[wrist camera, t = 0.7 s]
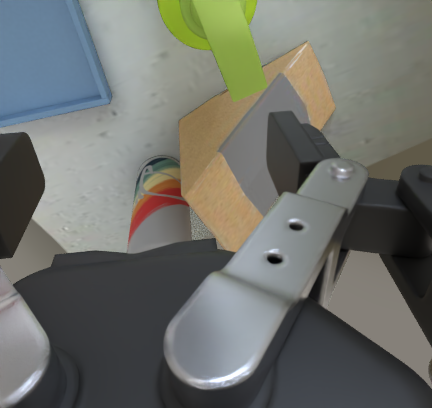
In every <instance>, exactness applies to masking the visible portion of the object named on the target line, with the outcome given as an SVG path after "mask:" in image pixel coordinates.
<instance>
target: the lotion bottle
mask: <svg viewBox="0 0 432 408" xmlns="http://www.w3.org/2000/svg"><path fill="white" fill-rule="evenodd" d="M183 241H192V233H191V221H190V208H189V204H188V203H187V202H186V201H185V199H184V198H183V197H182V195H181V175H180V163H179V162H178V161H177V160H175V159H173V158H171V157H167V156H156V157H153V158H150V159H148V160H147V161H146V162H144V163H143V165H142V166H141V167H140V169H139V172H138V176H137V181H136V189H135V196H134V203H133V211H132V218H131V225H130V233H129V240H128V247H127V253H133V254H134V253H140V252H144V251H147V250H151V249H154V248H158V247H161V246H165V245H168V244H172V243H176V242H183Z"/></svg>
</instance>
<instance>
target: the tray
mask: <svg viewBox="0 0 432 408" xmlns="http://www.w3.org/2000/svg"><path fill="white" fill-rule="evenodd" d="M111 99H112V94H111V92H110V89H109V86H108V83H107V80H106V78H105V75H104V72H103V69H102V66H101V64H100V61H99V58H98V55H97V52H96V49H95V47H94V44H93V41H92V38H91V35H90V33H89V30H88V27H87V24H86V21H85V19H84V16H83V13H82V10H81V7H80V5H79V2H78V0H0V127H5V126H10V125H14V124H19V123H23V122H28V121H33V120H37V119H42V118H46V117H51V116H56V115H60V114H65V113H69V112H74V111H78V110H83V109H88V108H92V107H97V106H101V105H106V104H110V102H111Z"/></svg>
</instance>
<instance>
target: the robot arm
mask: <svg viewBox="0 0 432 408" xmlns="http://www.w3.org/2000/svg"><path fill="white" fill-rule="evenodd" d="M266 161H267V168H268V171H269V174H270V176H271V178H272V181H273V183H274V185H275V188H276V190H277V193H278V195H279V198H278V200H277V201H276V202H275V204H274V205H273V206H272V207H271V209H270V210H269V211H268V212H267V214H266V215H265V216H264V218H263V219H262V220H261V221H260V223H259V224H258V225H257V226H256V228H255V229H254V230H253V232H252V233H251V234H250V235H249V237H248V238H247V239H246V240H245V242H244V243H243V244H242V246H241V247H240V248H239V249H238V251H237V252H233V251H227V250H220V249H217V244H216V238H212V239H202V240H193V241H183V242H176V243H172V244H168V245H165V246H161V247H158V248H154V249H151V250H147V251H144V252H140V253H134V254H133V253H119V252H107V251H86V252H76V253H66V254H57V255H55V257H54V259H53V262H52V265H51V267H49V268H46V269H43V270H40V271H38V272H35V273H33V274H31V275H29V276H27V277H25V278H23V279H21V280H19V281H18V282H16V283H15V284H13V285H12V283H11V282H10V280H9V279H8V277H7V276H6V274H5V273H4V271H3V270H2V268H1V266H0V408H432V389H431V388H430V386H429V385H428V384H427V383H426V382H425V381H424V380H423V379H422V378H421V377H420V376H419V375H418V374H417V373H416V372H415V371H413V370H412V369H411V368H409V367H408V366H407V365H406V364H404V363H403V362H402V361H400V360H399V359H397V358H396V357H394V356H393V355H392V354H390V353H389V352H387V351H386V350H384V349H383V348H382V347H380V346H379V345H377V344H376V343H374V342H373V341H371V340H370V339H368V338H367V337H366V336H364V335H363V334H361V333H360V332H358V331H357V330H356V329H354V328H353V327H351V326H350V325H348V324H347V323H346V322H344V321H343V320H341V319H340V318H338V317H337V316H336V315H334V314H332V313H331V312H330V311H328V310H327V308H328V305H329V301H330V298H331V296H332V293H333V291H334V288H335V286H336V284H337V282H338V280H339V277H340V275H341V273H342V271H343V268H344V266H345V264H346V262H347V259H348V257H349V255H350V252H351V250H355V251H364V252H371V253H379V255H380V257H381V259H382V261H383V262H384V264H385V266H386V267H387V270H388V271H389V273H390V275H391V277H392V278H393V280H394V282H395V284H396V285H397V287H398V289H399V291H400V292H401V294H402V296H403V298H404V299H405V301H406V303H407V305H408V306H409V308H410V310H411V312H412V313H413V315H414V317H415V319H416V320H417V322H418V324H419V326H420V327H421V329H422V331H423V333H424V334H425V336H426V338H427V340H428V341H429V343H430V345H431V347H432V166H430V165H412V166H409V167H406V168H405V169H403V171H402V173H401V176H400V179H399V181H395V180H384V179H375V178H369V177H368V176H369V173H368V170H367V169H366V167H364V166H363V165H362V164H360V163H358V162H356V161H353V160H349V159H343V158H340V156H339V155H338V154H337V153H336V151H335V150H334V149H333V147H332V146H331V145H330V144H329V142H328V141H327V140H326V138H324V136H323V134H322V133H321V132H320V131H319V129H317V128H315V127H314V126H312V125H310V124H308V123H303V124H301V123H300V122H299V120H298V119H297V117H296V116H295V114H294V113H293V112H292V111H291V110H289V111H277V112H270V113H269V115H268V124H267V148H266ZM44 189H45V179H44V174H43V172H42V169H41V166H40V163H39V161H38V158H37V155H36V153H35V150H34V147H33V145H32V142H31V139H30V137H29V136H28V135H27V133H25V132H20V133H8V134H0V259H4V258H12V257H13V255H14V253H15V251H16V249H17V247H18V244H19V242H20V240H21V238H22V236H23V234H24V232H25V230H26V228H27V226H28V224H29V221H30V219H31V218H32V215H33V213H34V211H35V209H36V207H37V205H38V203H39V201H40V199H41V197H42V195H43V193H44ZM428 373H429V377H430V380H431V383H432V358H431V360H430V362H429V366H428Z"/></svg>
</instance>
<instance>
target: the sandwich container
mask: <svg viewBox="0 0 432 408" xmlns="http://www.w3.org/2000/svg"><path fill="white" fill-rule="evenodd" d="M262 69H263V72H264V75H265V79H266V82H267V88H265V89H263V90H261V91H258V92H256V93H254V94H252V95H250V96H247V97H245V98H243V99H241V100H238V101H236V102H233V100H232V98H231V96H230V93H229V91H228V89H227V90H225V91H223V92H222V93H220V94H219V95H216V96H215V97H213V98H212V99H210V100H209V101H207V102H206V103H204V104H203V105H201V106H200V107H198V108H197V109H195V110H194V111H192V112H191V113H189V114H188V115H186V116H185V117H183V118H182V119H181V120H179V147H180V175H181V195H182V197H183V198H184V199H185V201H186V202H187V203H188V204H189V206H190V207H191V208H192V209H193V211H194V212H195V213H196V214H197V216H198V217H199V218H200V219H201V221H202V222H203V223H204V224H205V225H206V227H207V228H208V229H209V230H210V232H211V233H212V234H213V235H214V237H215V238H216V239H217V241H218V242H219V243H220V245H221V246H222V247H223V248H224V250H227V251H233V252H237V251H238V249H239V248H240V247H241V246H242V244H243V243H244V242H245V240H246V239H247V238H248V237H249V235H250V234H251V233H252V232H253V230H254V229H255V228H256V226H257V225H258V224H259V223H260V221H261V220H262V219H263V218H264V216H265V215H266V214H267V212H268V211H269V209H270V208H271V206H272V205H273V203H274V201H275V200H276V198H277V197H278V193H277V190H276V188H275V185H274V183H273V181H272V178H271V176H270V174H269V171H268V168H267V161H266V148H267V124H268V115H269V113H270V112H277V111H289V110H291V111H292V112H293V113H294V114H295V116H296V117H297V119H298V120H299V122H300V123H301V124H303V123H308V124H310V125H312V126H314V127H315V128H317V129H319V131H321V129H322V128H323V126H324V125H325V123H326V122H327V120H328V119H329V117H330V116H331V114H332V113H333V112H334V110H335V109H336V107H335V104H334V101H333V98H332V96H331V93H330V90H329V87H328V84H327V81H326V78H325V76H324V73H323V71H322V69H321V67H320V65H319V63H318V60H317V58H316V56H315V54H314V52H313V50H312V47H311V45H310V43H309V41H307V42H305V43H304V44H302V45H300V46H299V47H297V48H295V49H293V50H292V51H290V52H288V53H286V54H285V55H283V56H281V57H280V58H278V59H276V60H274V61H273V62H271V63H269V64H268V65H266V66H264V67H262Z"/></svg>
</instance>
